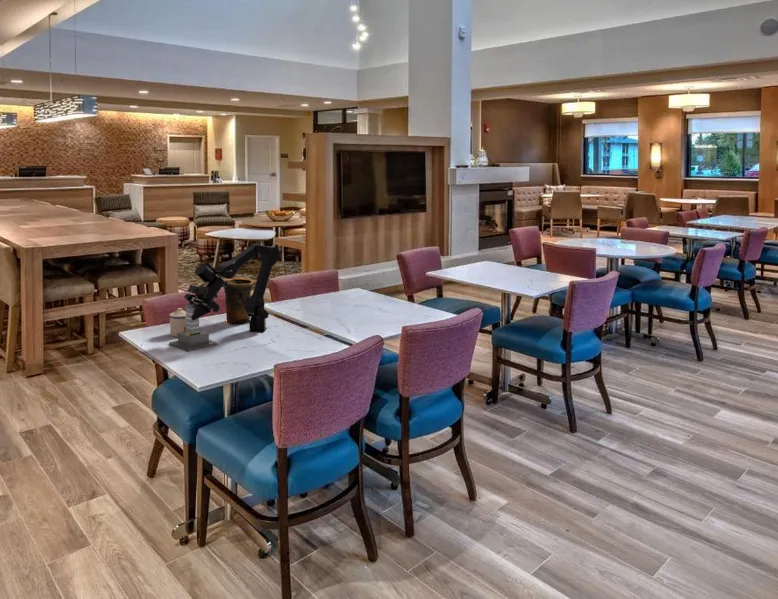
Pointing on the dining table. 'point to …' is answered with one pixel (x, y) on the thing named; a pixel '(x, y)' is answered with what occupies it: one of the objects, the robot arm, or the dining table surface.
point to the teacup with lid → (178, 322)
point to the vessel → (237, 300)
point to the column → (191, 324)
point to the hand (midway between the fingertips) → (189, 318)
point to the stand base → (193, 341)
